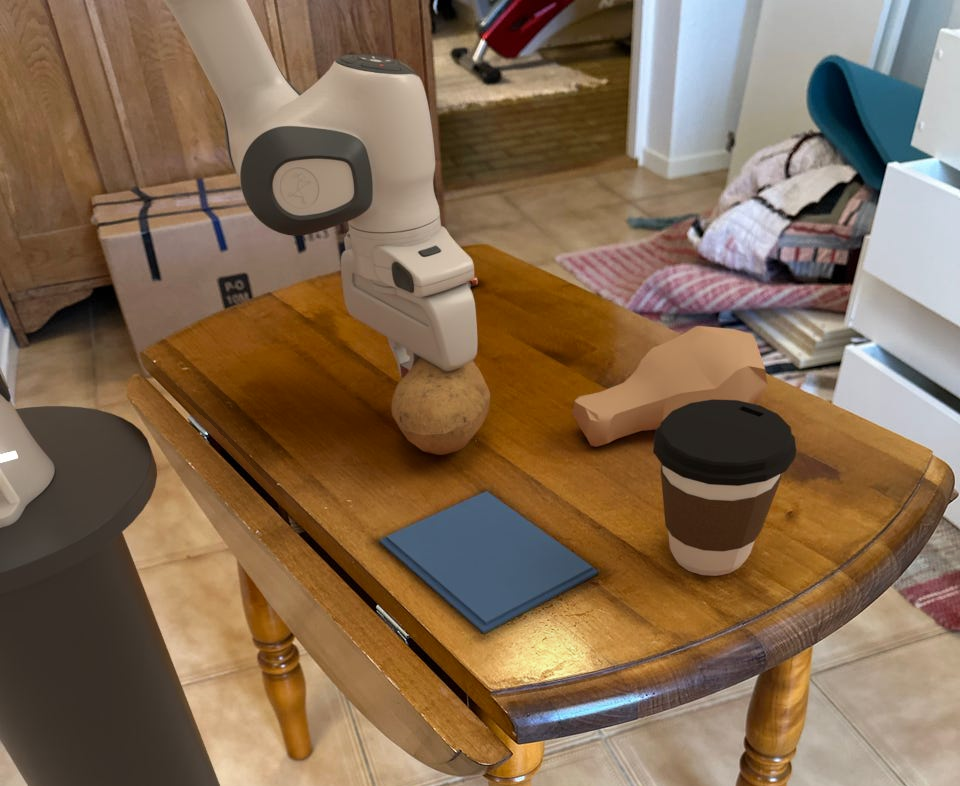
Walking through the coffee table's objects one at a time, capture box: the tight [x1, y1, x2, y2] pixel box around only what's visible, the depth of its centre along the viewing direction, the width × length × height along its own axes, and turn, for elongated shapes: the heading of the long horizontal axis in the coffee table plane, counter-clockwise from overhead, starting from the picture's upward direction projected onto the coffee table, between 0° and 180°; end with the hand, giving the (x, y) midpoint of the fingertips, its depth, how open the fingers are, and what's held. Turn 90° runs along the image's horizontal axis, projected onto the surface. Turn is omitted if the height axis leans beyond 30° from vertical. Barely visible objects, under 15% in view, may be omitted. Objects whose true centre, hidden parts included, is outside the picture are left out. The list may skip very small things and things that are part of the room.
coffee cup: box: [652, 399, 797, 577], centre depth 75 cm, size 11×11×12 cm
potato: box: [391, 357, 491, 456], centre depth 93 cm, size 10×14×8 cm
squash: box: [572, 325, 768, 448], centre depth 93 cm, size 11×20×9 cm, turn 109°
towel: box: [378, 490, 599, 635], centre depth 81 cm, size 12×16×1 cm
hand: (413, 379), depth 100 cm, fingers closed
